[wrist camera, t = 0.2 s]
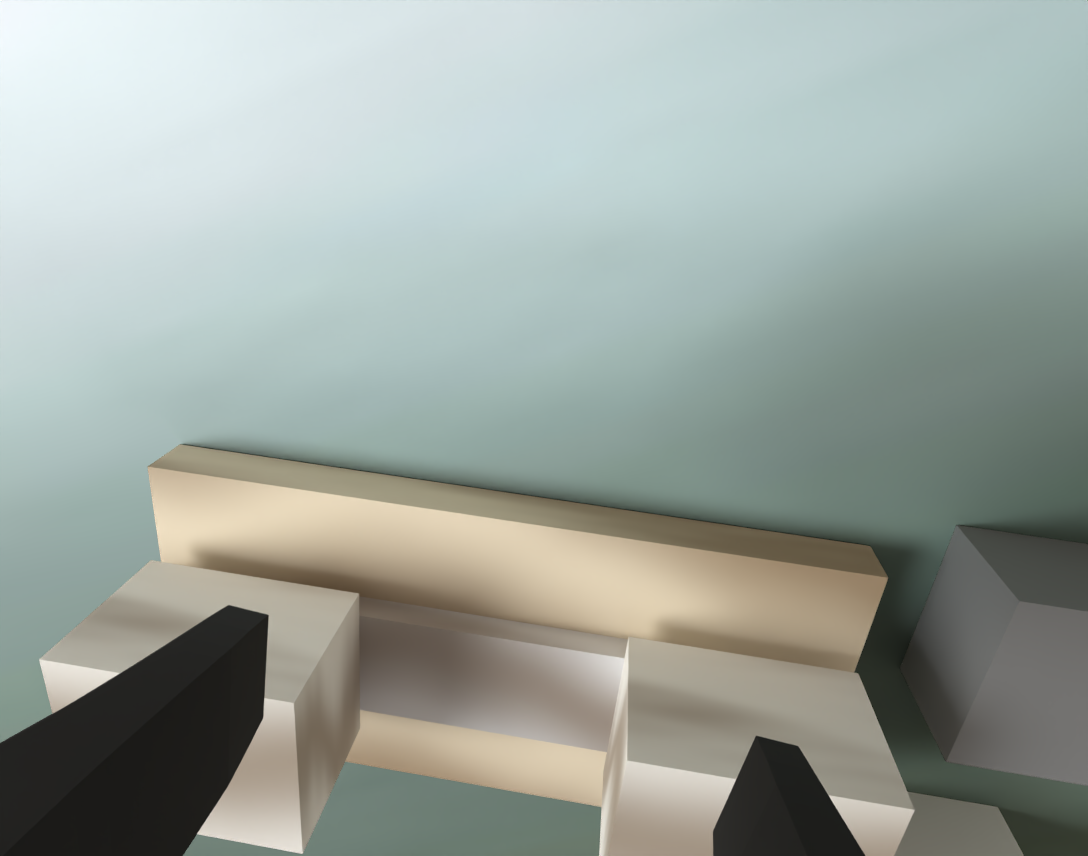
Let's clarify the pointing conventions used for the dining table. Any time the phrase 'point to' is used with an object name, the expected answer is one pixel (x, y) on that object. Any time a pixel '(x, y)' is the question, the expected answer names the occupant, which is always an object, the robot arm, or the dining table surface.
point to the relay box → (1006, 655)
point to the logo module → (955, 829)
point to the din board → (505, 647)
